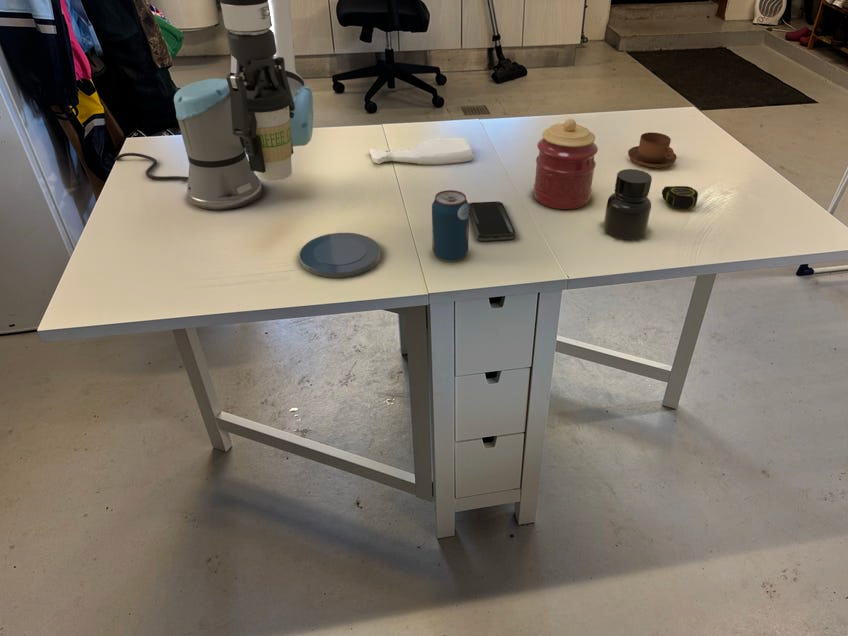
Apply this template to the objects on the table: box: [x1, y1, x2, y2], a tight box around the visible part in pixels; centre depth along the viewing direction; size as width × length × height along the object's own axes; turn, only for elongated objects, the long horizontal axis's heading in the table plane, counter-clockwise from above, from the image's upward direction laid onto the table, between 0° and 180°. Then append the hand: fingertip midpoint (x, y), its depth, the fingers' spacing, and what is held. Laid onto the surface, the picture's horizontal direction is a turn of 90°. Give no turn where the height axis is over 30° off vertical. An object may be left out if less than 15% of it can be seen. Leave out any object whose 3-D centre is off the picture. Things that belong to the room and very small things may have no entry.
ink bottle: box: [603, 168, 653, 240], centre depth 134 cm, size 10×9×12 cm
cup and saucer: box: [627, 132, 678, 168], centre depth 164 cm, size 12×12×6 cm
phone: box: [468, 200, 516, 242], centre depth 138 cm, size 8×1×15 cm
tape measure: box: [661, 185, 699, 210], centre depth 146 cm, size 7×7×4 cm
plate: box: [299, 232, 381, 279], centre depth 125 cm, size 15×15×1 cm
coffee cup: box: [247, 86, 293, 181], centre depth 120 cm, size 10×10×15 cm
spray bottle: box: [369, 137, 474, 166], centre depth 163 cm, size 3×11×24 cm
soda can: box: [431, 189, 470, 263], centre depth 124 cm, size 7×7×12 cm
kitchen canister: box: [533, 118, 599, 210], centre depth 143 cm, size 13×13×18 cm
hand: (272, 161), depth 123 cm, fingers closed on coffee cup, 9 cm apart
